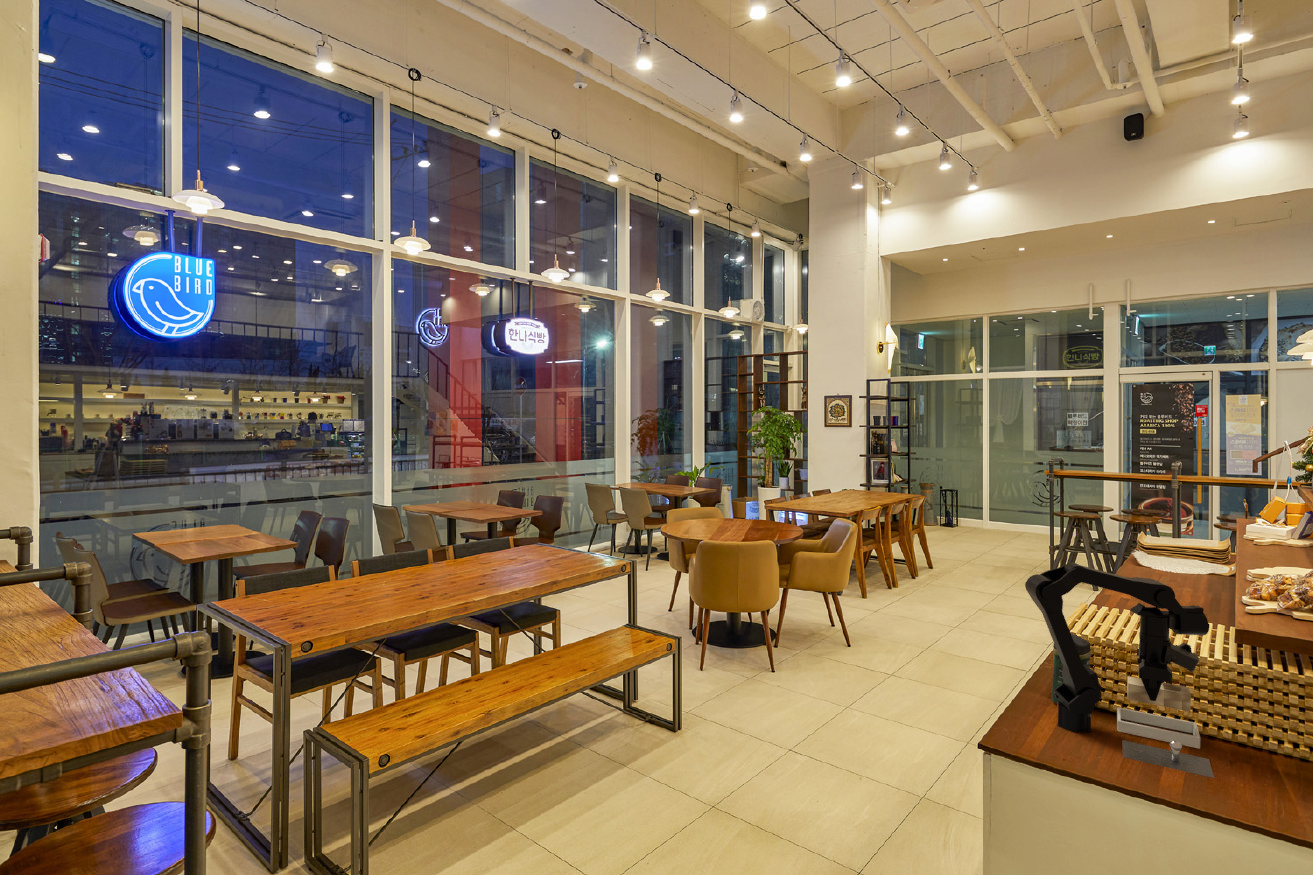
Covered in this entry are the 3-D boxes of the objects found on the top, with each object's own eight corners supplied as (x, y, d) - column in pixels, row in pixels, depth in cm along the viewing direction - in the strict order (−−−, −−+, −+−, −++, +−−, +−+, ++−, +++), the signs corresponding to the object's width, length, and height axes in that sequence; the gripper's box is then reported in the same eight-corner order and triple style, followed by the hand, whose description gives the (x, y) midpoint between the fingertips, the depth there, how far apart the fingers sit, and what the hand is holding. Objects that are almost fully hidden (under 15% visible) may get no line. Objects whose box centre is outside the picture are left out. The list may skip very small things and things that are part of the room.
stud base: (1122, 761, 153) (1123, 737, 153) (1121, 744, 161) (1122, 721, 160) (1214, 782, 144) (1215, 757, 144) (1208, 763, 152) (1209, 739, 152)
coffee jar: (1080, 714, 176) (1081, 643, 175) (1047, 703, 182) (1048, 635, 181) (1094, 703, 182) (1096, 635, 181) (1062, 693, 188) (1063, 627, 187)
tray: (1117, 734, 165) (1117, 720, 165) (1116, 720, 172) (1117, 707, 172) (1199, 752, 156) (1200, 737, 156) (1195, 736, 164) (1196, 722, 164)
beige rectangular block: (1127, 699, 165) (1128, 683, 165) (1127, 692, 169) (1127, 676, 169) (1190, 711, 158) (1190, 694, 158) (1188, 703, 163) (1188, 687, 162)
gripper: (1201, 651, 151) (1199, 720, 152) (1192, 627, 167) (1190, 690, 168) (1140, 642, 157) (1138, 708, 158) (1137, 620, 173) (1135, 680, 174)
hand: (1152, 696), depth 164 cm, fingers closed on beige rectangular block, 5 cm apart
